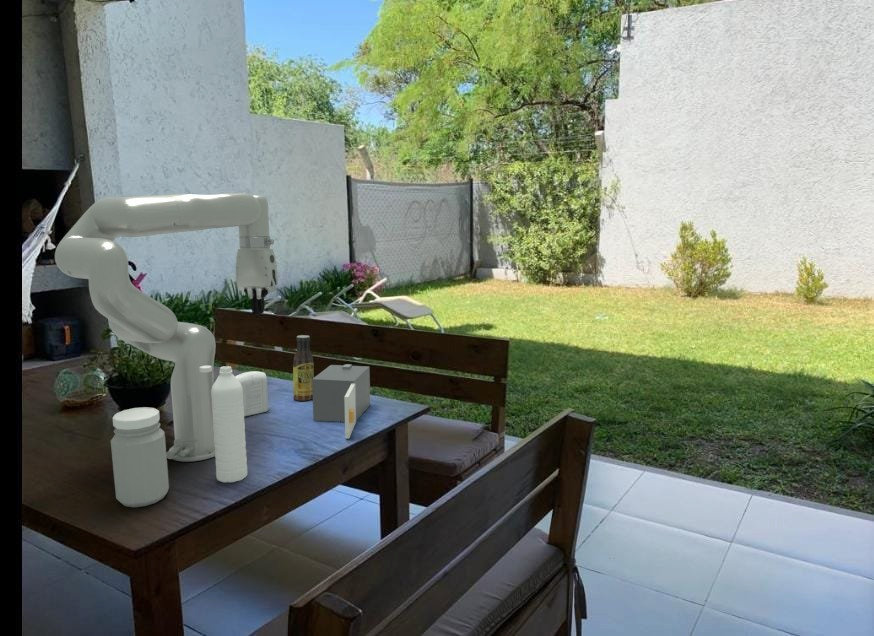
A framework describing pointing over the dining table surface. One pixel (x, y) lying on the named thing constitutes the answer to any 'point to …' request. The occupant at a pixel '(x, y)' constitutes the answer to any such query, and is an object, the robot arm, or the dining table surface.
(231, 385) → the water bottle
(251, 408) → the photo printer
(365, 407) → the gray box
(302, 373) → the sauce bottle
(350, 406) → the side door
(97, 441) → the dining table surface
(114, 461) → the jar
